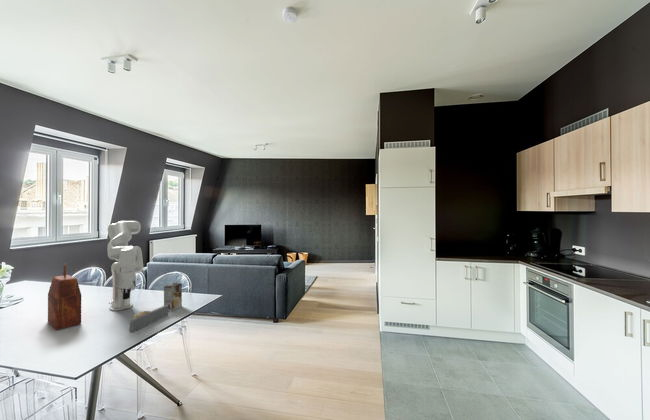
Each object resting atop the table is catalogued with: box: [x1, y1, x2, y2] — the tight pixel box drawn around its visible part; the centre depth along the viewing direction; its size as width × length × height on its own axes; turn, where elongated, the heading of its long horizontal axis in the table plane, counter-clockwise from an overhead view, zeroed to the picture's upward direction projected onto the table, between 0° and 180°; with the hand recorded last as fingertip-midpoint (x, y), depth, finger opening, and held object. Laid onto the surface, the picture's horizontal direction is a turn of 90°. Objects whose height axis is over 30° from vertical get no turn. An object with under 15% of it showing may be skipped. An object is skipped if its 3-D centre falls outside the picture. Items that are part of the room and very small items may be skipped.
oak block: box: [134, 310, 152, 319], centre depth 154 cm, size 7×7×5 cm
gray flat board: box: [129, 304, 169, 333], centre depth 153 cm, size 2×24×6 cm, turn 169°
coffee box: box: [163, 282, 183, 312], centre depth 175 cm, size 9×6×16 cm
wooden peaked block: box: [47, 263, 82, 331], centre depth 151 cm, size 10×19×35 cm, turn 56°
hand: (126, 298), depth 157 cm, fingers closed
